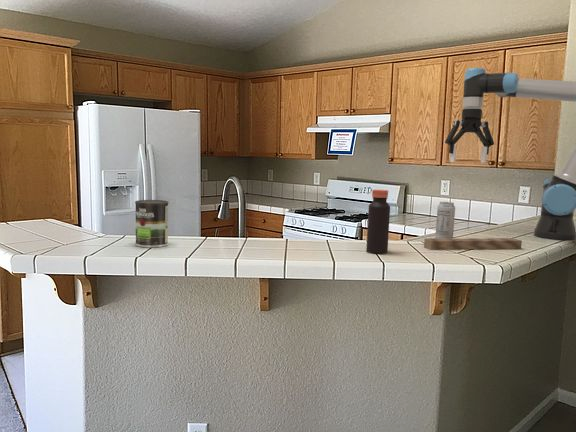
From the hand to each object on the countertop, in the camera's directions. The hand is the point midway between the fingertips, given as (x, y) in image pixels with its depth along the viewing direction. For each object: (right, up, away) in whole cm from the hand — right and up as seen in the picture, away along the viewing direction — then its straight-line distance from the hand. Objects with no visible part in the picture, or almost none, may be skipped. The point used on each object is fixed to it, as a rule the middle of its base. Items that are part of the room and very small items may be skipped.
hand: (468, 162), depth 207 cm
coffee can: (-116, -31, -41) cm, 127 cm away
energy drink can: (-17, -32, -23) cm, 43 cm away
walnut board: (-9, -33, -29) cm, 45 cm away
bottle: (-44, -33, -41) cm, 69 cm away
